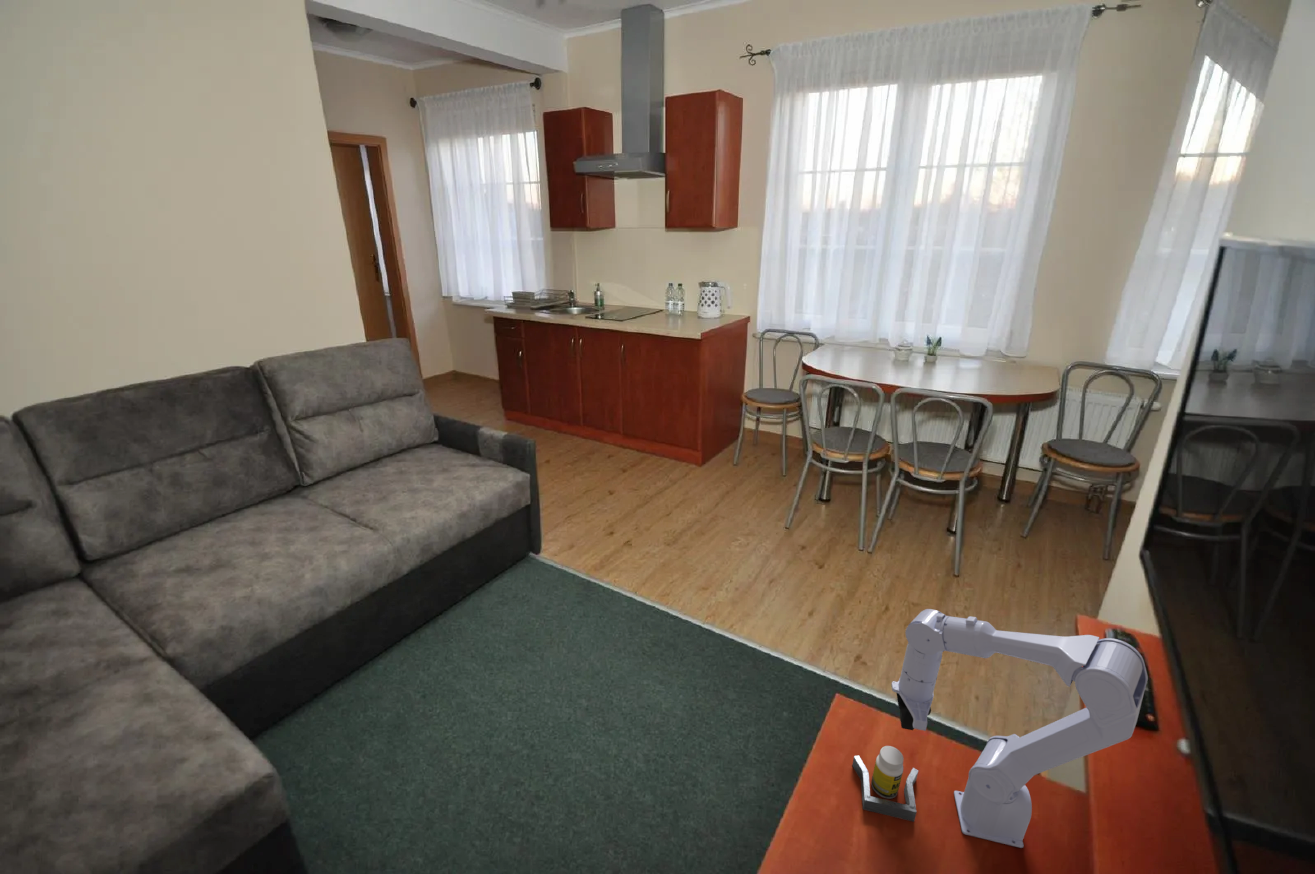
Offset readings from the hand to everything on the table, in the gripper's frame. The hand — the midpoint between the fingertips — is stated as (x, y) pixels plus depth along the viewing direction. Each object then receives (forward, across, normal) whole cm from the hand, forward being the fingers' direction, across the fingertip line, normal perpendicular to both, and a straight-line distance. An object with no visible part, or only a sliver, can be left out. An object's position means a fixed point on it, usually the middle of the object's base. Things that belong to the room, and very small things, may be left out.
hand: (906, 726), depth 109 cm
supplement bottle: (+10, +6, -3) cm, 12 cm away
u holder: (+9, +8, -3) cm, 13 cm away
